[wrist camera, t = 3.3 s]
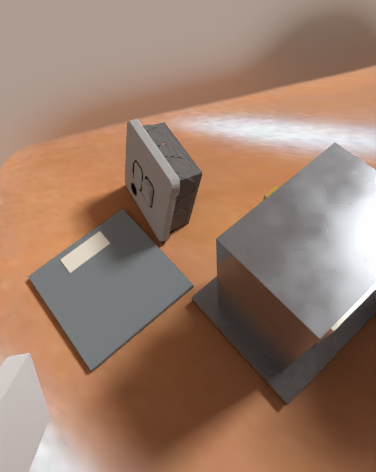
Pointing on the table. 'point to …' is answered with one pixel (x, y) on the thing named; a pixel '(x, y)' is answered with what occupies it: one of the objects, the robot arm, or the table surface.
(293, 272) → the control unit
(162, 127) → the electrical switch
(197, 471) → the table surface
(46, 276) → the pad
